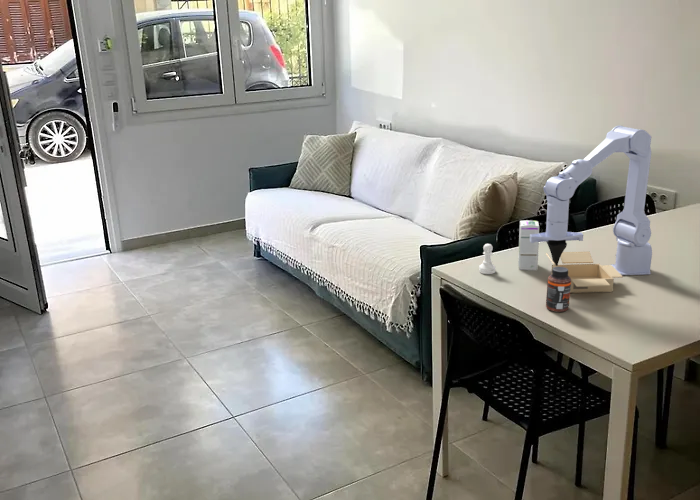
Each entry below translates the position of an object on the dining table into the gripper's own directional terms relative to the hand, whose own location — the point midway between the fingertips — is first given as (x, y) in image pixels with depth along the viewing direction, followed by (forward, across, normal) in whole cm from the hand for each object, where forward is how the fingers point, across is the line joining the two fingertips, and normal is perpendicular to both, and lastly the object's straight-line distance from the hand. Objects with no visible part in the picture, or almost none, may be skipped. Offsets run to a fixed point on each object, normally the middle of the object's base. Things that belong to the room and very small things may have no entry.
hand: (554, 264), depth 189 cm
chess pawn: (+6, +17, -12) cm, 22 cm away
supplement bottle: (+7, +3, +16) cm, 18 cm away
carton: (+7, -9, +2) cm, 12 cm away
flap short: (+2, -8, -6) cm, 10 cm away
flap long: (+2, -1, 0) cm, 2 cm away
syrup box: (+6, +4, -15) cm, 17 cm away
